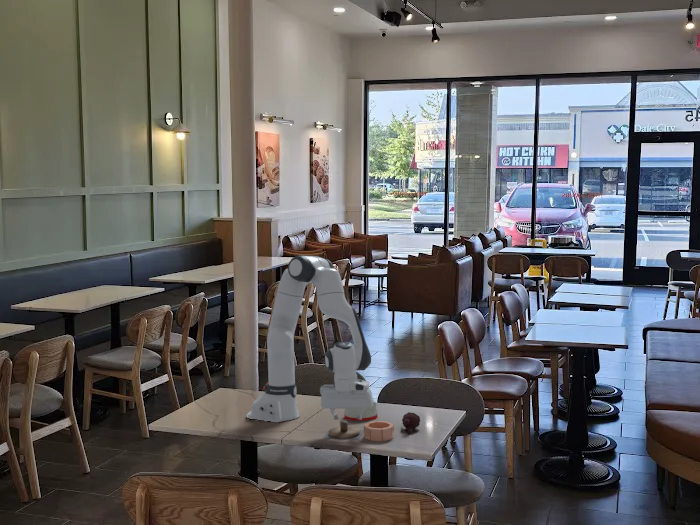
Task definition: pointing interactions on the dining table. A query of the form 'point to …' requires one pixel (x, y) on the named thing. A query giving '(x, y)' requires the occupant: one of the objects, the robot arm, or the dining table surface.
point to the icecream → (410, 421)
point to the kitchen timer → (366, 415)
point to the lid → (344, 431)
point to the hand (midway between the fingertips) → (347, 419)
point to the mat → (347, 438)
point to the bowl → (379, 431)
